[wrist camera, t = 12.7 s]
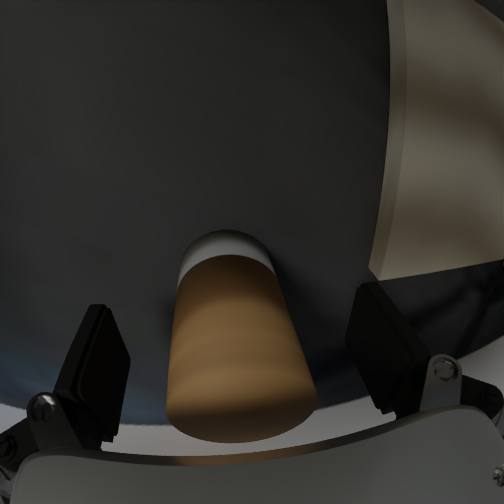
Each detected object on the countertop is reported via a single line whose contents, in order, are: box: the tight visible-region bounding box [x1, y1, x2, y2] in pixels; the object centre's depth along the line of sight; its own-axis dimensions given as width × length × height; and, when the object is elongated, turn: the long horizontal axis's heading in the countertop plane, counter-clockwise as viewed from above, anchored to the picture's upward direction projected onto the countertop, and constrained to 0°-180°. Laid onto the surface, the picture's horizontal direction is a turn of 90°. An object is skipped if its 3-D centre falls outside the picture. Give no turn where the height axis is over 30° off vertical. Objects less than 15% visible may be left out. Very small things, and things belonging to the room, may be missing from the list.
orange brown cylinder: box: [166, 230, 318, 443], centre depth 10 cm, size 4×4×7 cm
